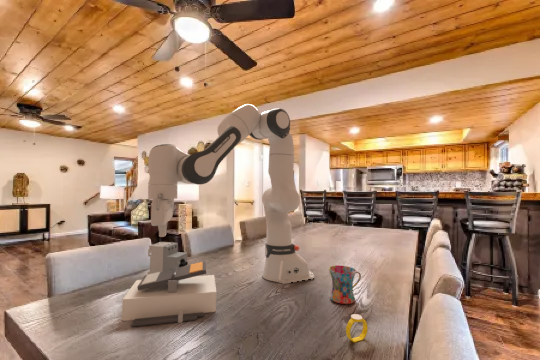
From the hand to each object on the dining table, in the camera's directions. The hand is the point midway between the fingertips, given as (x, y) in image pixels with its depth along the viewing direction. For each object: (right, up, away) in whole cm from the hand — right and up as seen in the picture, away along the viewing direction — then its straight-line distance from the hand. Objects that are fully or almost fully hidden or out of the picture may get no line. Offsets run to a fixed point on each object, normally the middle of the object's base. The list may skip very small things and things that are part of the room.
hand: (162, 236), depth 83 cm
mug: (+61, -24, +5) cm, 66 cm away
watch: (+57, -23, -18) cm, 64 cm away
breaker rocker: (+4, -13, 0) cm, 13 cm away
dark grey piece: (+6, -22, -11) cm, 25 cm away
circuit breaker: (-6, -23, +19) cm, 30 cm away
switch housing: (+4, -22, 0) cm, 22 cm away
